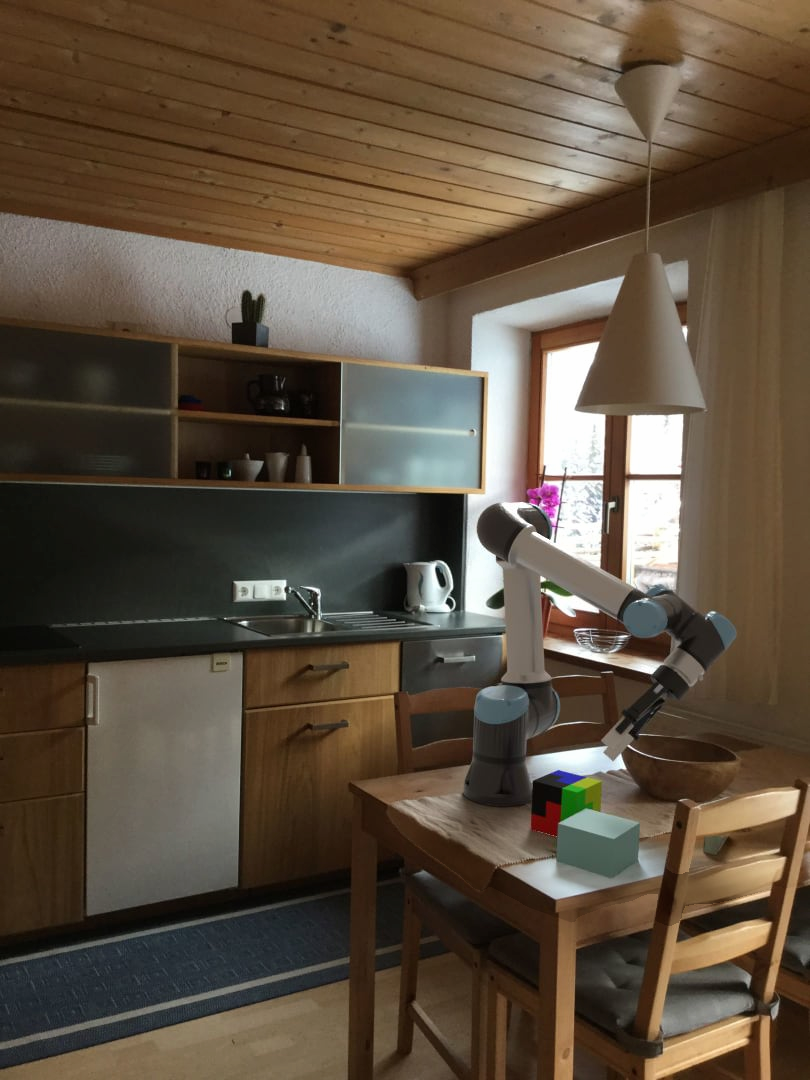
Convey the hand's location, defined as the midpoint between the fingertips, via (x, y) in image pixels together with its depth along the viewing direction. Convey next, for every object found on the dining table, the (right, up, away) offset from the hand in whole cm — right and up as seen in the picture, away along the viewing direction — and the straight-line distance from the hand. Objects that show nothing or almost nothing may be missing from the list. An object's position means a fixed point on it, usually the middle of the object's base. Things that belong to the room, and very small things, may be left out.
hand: (607, 751), depth 190 cm
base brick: (-6, -16, -18) cm, 25 cm away
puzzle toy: (-9, -15, -3) cm, 18 cm away
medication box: (+20, -17, -7) cm, 27 cm away
